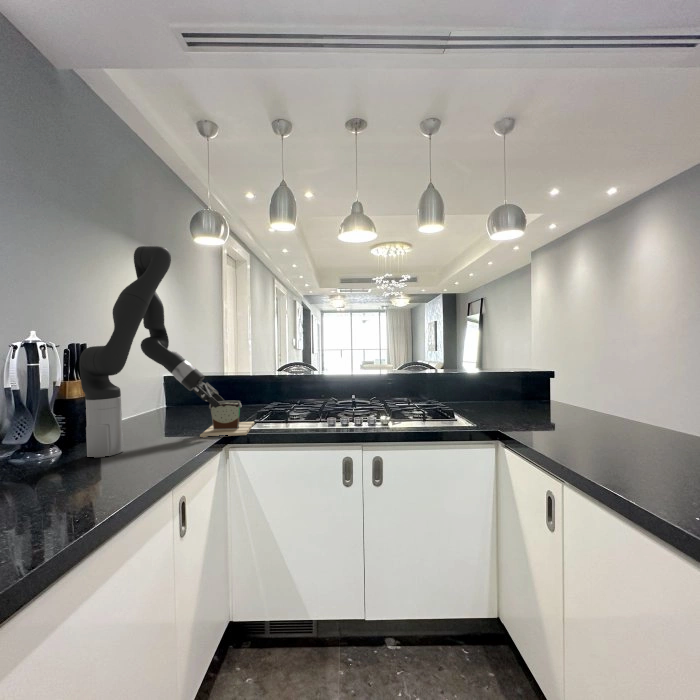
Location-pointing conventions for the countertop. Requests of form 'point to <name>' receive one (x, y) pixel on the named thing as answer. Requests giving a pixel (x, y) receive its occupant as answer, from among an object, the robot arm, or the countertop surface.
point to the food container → (226, 414)
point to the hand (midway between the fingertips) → (220, 404)
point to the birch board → (229, 430)
